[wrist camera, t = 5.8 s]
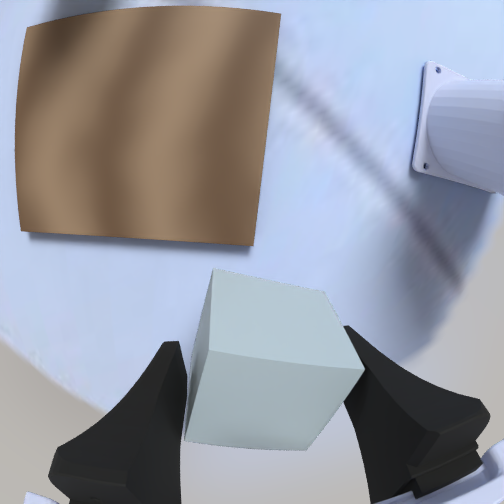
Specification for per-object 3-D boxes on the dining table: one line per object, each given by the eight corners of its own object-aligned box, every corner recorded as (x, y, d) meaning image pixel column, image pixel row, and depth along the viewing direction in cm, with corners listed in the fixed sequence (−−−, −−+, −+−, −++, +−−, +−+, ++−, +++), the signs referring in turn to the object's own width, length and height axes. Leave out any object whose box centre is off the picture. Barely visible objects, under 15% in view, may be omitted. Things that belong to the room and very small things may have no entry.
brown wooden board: (278, 18, 14) (281, 13, 14) (251, 240, 20) (253, 246, 19) (34, 30, 13) (27, 27, 12) (28, 226, 18) (20, 231, 17)
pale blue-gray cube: (324, 291, 14) (364, 369, 9) (287, 371, 16) (306, 450, 11) (213, 267, 13) (209, 349, 8) (191, 356, 15) (184, 440, 10)
